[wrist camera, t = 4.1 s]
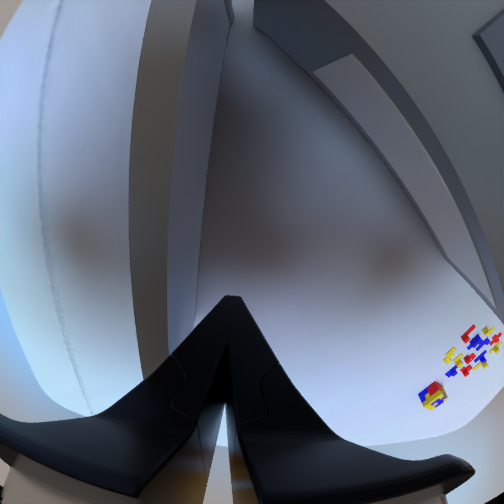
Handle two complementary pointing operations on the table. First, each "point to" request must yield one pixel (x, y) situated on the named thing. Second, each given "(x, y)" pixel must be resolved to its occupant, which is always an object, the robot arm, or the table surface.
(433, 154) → the camera box
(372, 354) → the table surface
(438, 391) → the building blocks
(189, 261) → the side door
